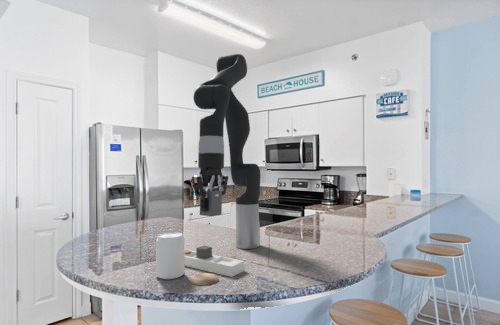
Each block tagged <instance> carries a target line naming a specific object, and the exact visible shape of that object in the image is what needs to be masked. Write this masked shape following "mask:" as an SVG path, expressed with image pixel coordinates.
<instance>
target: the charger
mask: <svg viewBox="0 0 500 325" xmlns="http://www.w3.org/2000/svg"><path fill="white" fill-rule="evenodd" d="M204 193H205V191H204ZM207 199H209V210H208V211H207V212H203V211H201V198H200V197H199V216H207V217H216V216H222V215H223V214H222V211H223V210H222V209H223V208H222V206H223V205H222V204H223V202H222V201H223V200H222V199H223V195H222V190H221V191H217V190H216V191H212V190H211V191H209V197H208V198H207Z"/></svg>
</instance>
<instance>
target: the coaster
mask: <svg viewBox="0 0 500 325" xmlns="http://www.w3.org/2000/svg"><path fill="white" fill-rule="evenodd" d="M218 281H219V276H218V275H217V274H216V273H212V272H210V273H209V272H208V273H207V272H204V273H203V272H202V273H197V274H194V275H192V276H190V278H189V283H190V284H192V285H196V286H209V285H213V284H215V283H217V282H218Z"/></svg>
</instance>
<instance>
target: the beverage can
mask: <svg viewBox="0 0 500 325" xmlns="http://www.w3.org/2000/svg"><path fill="white" fill-rule="evenodd" d="M155 247H156V248H155V276H156V277H157V278H160V279H162V280H175V279H178V278H180V277H183V275H184V274H185V266H184V250H185V237H184V236H183V233H182V232H164V233H160V234H158V235H157V238H156V240H155Z"/></svg>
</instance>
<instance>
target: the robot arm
mask: <svg viewBox="0 0 500 325" xmlns="http://www.w3.org/2000/svg"><path fill="white" fill-rule="evenodd" d="M216 72H217V73H215V74H214V75H213V76H212V77H211V79H210V80H207V81H204V82H203V83H201V84H199V85H198V86H196V88H195V90H194V93H193V102H194V104H195V106H196V107H197V108H199V109H201V110H214V112H213V113H212V114H210V115H206V116H203V117H201V119H200V120H199V139H198V140H199V141H198V156H197V157H198V158H197V159H198V163H197V164H198V165H197V166H198V169H200V171H199V172H198V174H197V175H192V176H191V180H192V185H193V186H192V187H193V190H194V195H195V197H198V198H199V199H200V198H201V211H203V212H207V211H208V210H209V199H207V198H208V197H209V191H211V190H212V191H222V196H225V195H226V192H227V188H228V187H227V186H228V181H229V176H228V175H224V174H223V172H222V169H224V167H225V141H224V127H226V128H225V129H226V133H227V140H228V147H229V149H228V150H229V158H230V159H229V161H230V175H231V180H232V183H233V184H234V185H235V186H237V187H246V188H245V192H243V193H242V194H239V195H237V196H236V197H235V248H238V249H241V250H242V249H243V250H251V249H257V248H259V247H260V245H261V240H260V238H261V223H260V215H259V214H260V212H259V211H260V210H259V209H260V204H259V200H260V196H261V195H260V194H261V169H260V166H259V164H257V163H244V160H243V157H244V156H243V155H244V154H243V151H244V148H245V145H246V143H247V141H248V138H249V136H250V132H251V127H250V124H251V123H250V119H249V113H248V110H247V109H246V108H245V107H244V105H243V104H242V102H240V101H239V99H238V98H237V97H236V95H235V93H234V92H233V90H232V89H233V87H234V86H235V85H236V84H238V83H239V82H240V81H242V80H243V79H244V78H245V77H246V76H247V74H248V64H247V61H246V57H245V56H244V55H243V54H241V53H235V54H231V55H224V56H219V57H218V58H217V59H216ZM224 125H225V126H224ZM204 191H205V193H204Z"/></svg>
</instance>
